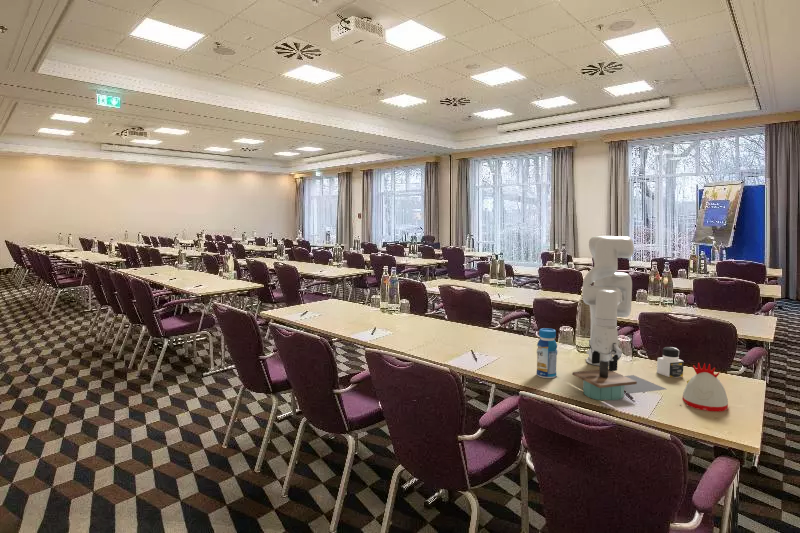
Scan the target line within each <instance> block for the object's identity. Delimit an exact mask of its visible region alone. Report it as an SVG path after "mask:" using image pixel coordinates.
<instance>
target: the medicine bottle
mask: <svg viewBox="0 0 800 533" xmlns="http://www.w3.org/2000/svg"><path fill="white" fill-rule="evenodd" d="M679 356H680V350H679V349H678V348H677V347H673V346H665V347H663V348H662V357H657V358H656V359H657V361H656V362H657V365H656V373H657V374H660V375H662V376H665V377H667V378H673V379H674V378H675V379H677V378H683V376H684V360H682V359H680V357H679Z"/></svg>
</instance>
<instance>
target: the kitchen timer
mask: <svg viewBox="0 0 800 533" xmlns="http://www.w3.org/2000/svg"><path fill="white" fill-rule="evenodd" d="M692 366H693V367H692V368H693V370H694V372H695V373H696V374H694V375H693V376H692V377H691V378H690V379H688V380H686V385H685V388H684V390H683V392H682V401H683V402H684V403H685V405H686V406H688V407H691V408H693V409H698V410H701V411H706V412H725V411H727V410H728V408H729V401H728V396H727V393H726V390H725V387H724V385H723V383H722V382H721V381H720V379H719V378H718V376H719V375H720V372H721V371H718V372H717V373H715V370H716V367H713V368H711V364H710V363H709V364H708V366H707V367H706V363H705V362H704V364H703V366H702V368H701V365H700V362H697V367H696V366H695V365H694V364H693V365H692Z"/></svg>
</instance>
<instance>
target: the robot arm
mask: <svg viewBox="0 0 800 533" xmlns="http://www.w3.org/2000/svg"><path fill="white" fill-rule="evenodd" d="M588 248H589V251H590V254H591V256H592V259H593V263H594V265H593V267H592V268H591V269H590V270H589V271H588V272H587V273H586V274H585V276H584V278H583V282H582V294H581V295H582V297H581V298H582V300H583V303H584V304H585V305H588V306H589V311H590V339H589V340H588V342H589V350H587V351H586V354H587V355H588V357H586V358H585V361H586V363H588V364H590V365H594V366H597V367H598V366H599V367H600V360H606V361H609V364H608V369H609V371H614V372H616V371H618V361H619V360H620V358H621V356H622V354H623V350H622V348H620V346H619V334H618V328H617V323H618V318H628V317H629V316H630V315H631V312H632V298H633V297H632V296H633V295H632V293H633V280H632V277H631V275H630V274H629V273H626V272H617V271H618V270H619V269H618V268H619V267H618V266H619V265H618V263H619V262H618V258H619V259H621V258H622V259H630V258H631V257H632V256H633V254H634V249H635V246H634V242H633V240H632V237H630V236H625V235H624V236H623V235H622V236H621V235H619V236H614V235H613V236H612V235H598V236H597V235H596V236H593V237H591V238H589V240H588ZM592 284H593V285H592Z"/></svg>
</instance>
